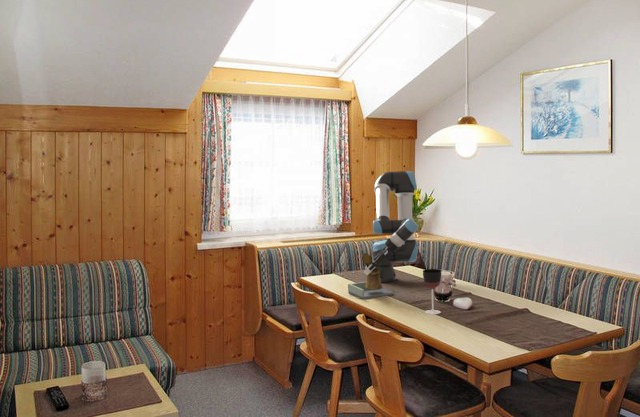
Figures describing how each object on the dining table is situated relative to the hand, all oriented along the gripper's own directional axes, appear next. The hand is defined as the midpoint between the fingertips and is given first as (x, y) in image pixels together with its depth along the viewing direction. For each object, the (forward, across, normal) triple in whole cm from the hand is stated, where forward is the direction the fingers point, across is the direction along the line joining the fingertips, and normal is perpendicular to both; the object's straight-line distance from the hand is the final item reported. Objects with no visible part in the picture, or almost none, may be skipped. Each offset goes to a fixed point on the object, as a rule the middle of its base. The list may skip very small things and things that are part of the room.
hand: (366, 271), depth 325 cm
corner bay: (+7, 0, -10) cm, 13 cm away
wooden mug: (+4, 0, -8) cm, 9 cm away
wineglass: (-15, -35, -33) cm, 50 cm away
